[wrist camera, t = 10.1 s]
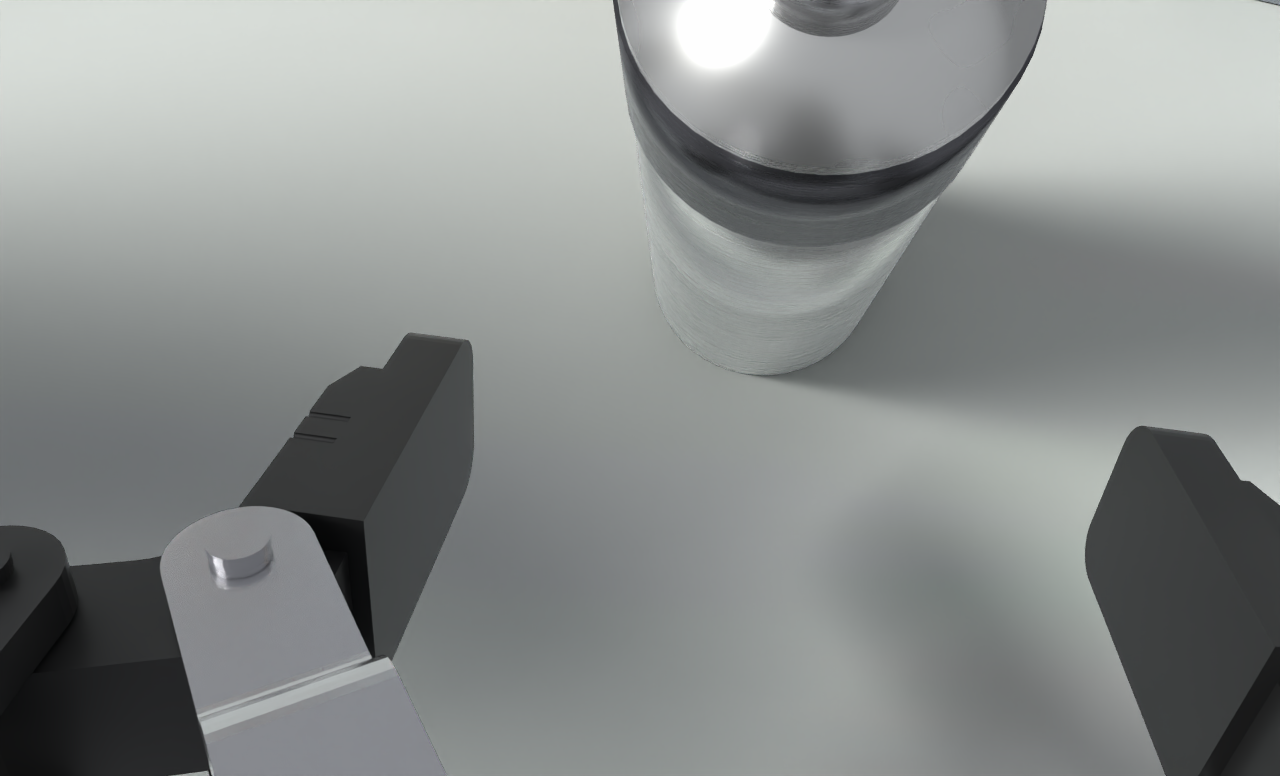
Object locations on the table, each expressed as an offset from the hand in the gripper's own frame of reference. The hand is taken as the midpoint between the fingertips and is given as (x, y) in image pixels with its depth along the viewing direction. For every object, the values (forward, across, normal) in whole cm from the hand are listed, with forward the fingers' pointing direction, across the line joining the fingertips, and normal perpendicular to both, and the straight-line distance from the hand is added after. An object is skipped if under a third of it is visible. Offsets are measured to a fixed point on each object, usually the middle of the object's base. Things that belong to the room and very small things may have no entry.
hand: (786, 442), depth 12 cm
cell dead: (+8, 0, -1) cm, 8 cm away
